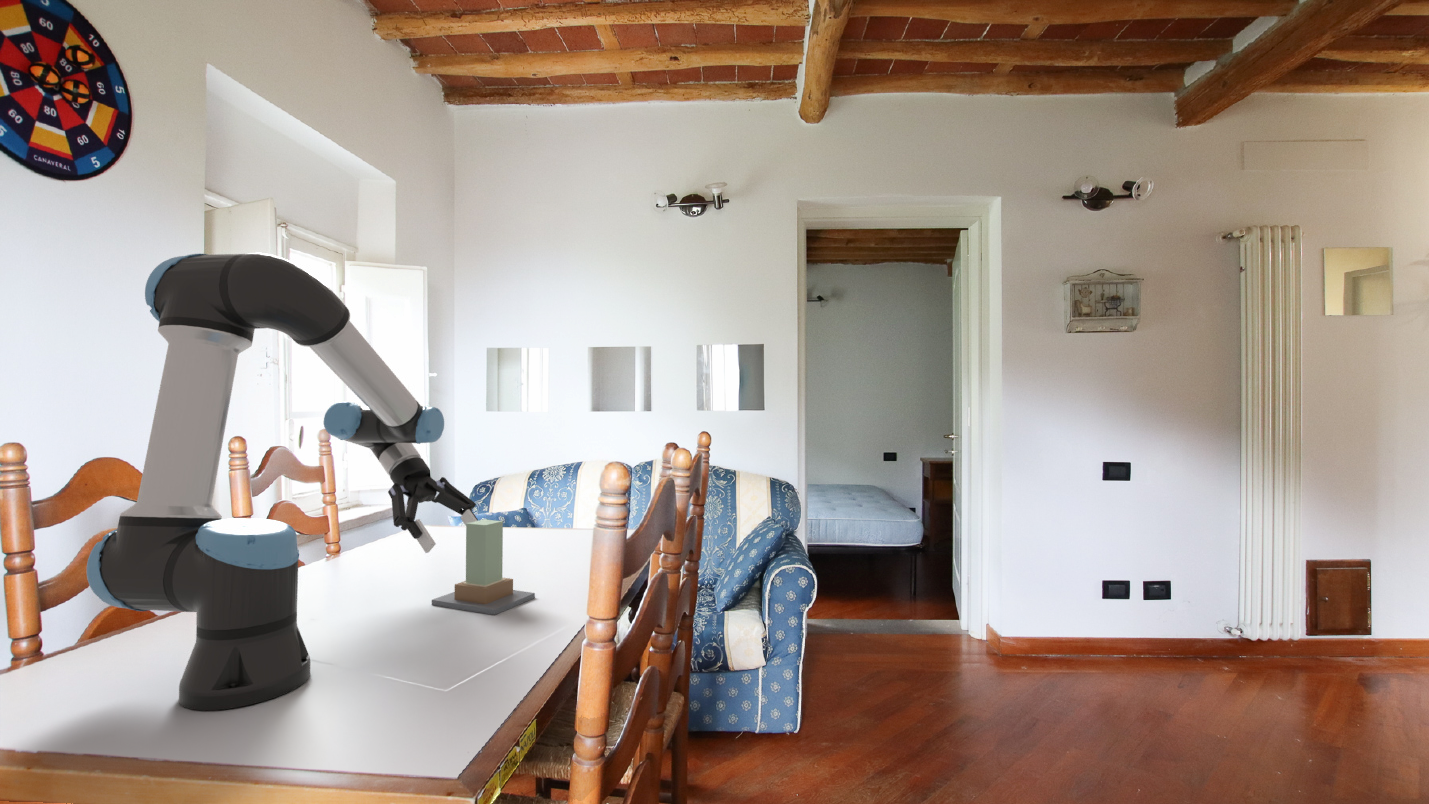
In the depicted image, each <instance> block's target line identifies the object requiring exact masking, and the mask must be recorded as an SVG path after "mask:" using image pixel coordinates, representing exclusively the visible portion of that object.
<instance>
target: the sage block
mask: <svg viewBox="0 0 1429 804" xmlns="http://www.w3.org/2000/svg"><path fill="white" fill-rule="evenodd" d="M503 523H504V521H503V520H492V519H481V520H479V519H478V521H475V522H470V523H466V525H465V533H466V534H465V538H466V539H465V581H466V583H473V584H480V585H487V584H490V583H493V582H496V581H498V580H501V579H502V578H503V559H504V558H503V556H504V555H503V553H504V552H503V550H504V548H503V543H504V542H503V539H504V537H503V536H504V534H503V533H504V531H503V530H504V524H503Z"/></svg>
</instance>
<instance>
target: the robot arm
mask: <svg viewBox="0 0 1429 804" xmlns="http://www.w3.org/2000/svg"><path fill="white" fill-rule="evenodd" d="M144 299H145V303H146V305H147V306H148V307H150V309H149V313H150V314H151V315H152V317H153V318H154V319H155V320H156V321H157V322H158V328H157V332H158V333H159V334H160V335H161V336H162V338H164V339H165V341H166V342H167V344H168V346H167V351H166V355H165V360H164V365H163V370H162V376H161V379H160V385H159V390H158V395H157V400H156V406H155V410H154V414H153V420H152V425H151V430H150V435H149V441H148V444H147V445H148V446H147V450H146V454H145V460H144V463H143V464H144V465H143V469H142V470H143V471H142V475H141V480H140V485H139V488H138V489H139V490H138V495H137V499H136V500H137V501H136V502H135V503H134V504H133V505H132V506H130V507H129V508H127V509H125V510H124V511H122V512H121V513H120V514H119V519H118V523H117V527H116V529H113V530H111V531H109V532H108V533H106V534H105V535H104V536H102V539H101V541H98V542H96V544H94V546H93V547H92V549H91V551H90V553H89V556H88V558H87V563H86V579H87V582H88V585H89V588H90V589H91V590H92V593H93V594H94V595H95V596H96V597H98V598H99V600H100V601H102V602H104V604H107V605H109V606H112V607H115V608H119V609H120V608H121V609H128V610H131V611H136V612H148V611H161V612H163V611H164V612H179V613H180V612H182V613H183V612H184V613H185V612H186V613H196V620H195V621H196V624H195V625H196V631H195V632H196V634H195V635H196V636H195V643H194V646H193V648H192V651H191V654H190V656H189V659H188V661H187V663H186V667H185V669H184V671H183V674H182V677H181V678H180V681H179V685H178V702H179V704H180V706H182V707H184V708H186V709H189V710H197V711H219V710H227V709H233V708H234V709H235V708H241V707H245V706H246V707H247V706H249V705H254V704H258V703H261V702H265V701H268V700H271V699H274V698H275V699H276V698H277V697H280V696H282V695H284V694H287V693H289V692H291V691H294V690H296V689H298V687H300V686H302V685H303V684H304V683H305V682H307V680H309V678H310V676H311V657H310V655H309V651H308V649H307V647H306V644H305V642H304V640H303V636H302V633H301V632H300V631H301V630H300V629H299V626H298V591H299V590H298V584H299V582H298V580H299V558H300V553H299V552H300V551H299V548H298V547H299V546H298V535H297V533H296V530H295V529H294V527H292V526H291V524H289V523H286V522H284V521H281V520H275V519H269V518H259V517H252V518H245V517H234V518H232V517H231V518H223V516H222V514H220V512H218V510H216V509H215V508H214V506H213V500H214V493H215V488H216V481H217V476H218V471H219V466H220V465H219V464H220V460H221V453H222V447H223V444H224V443H223V442H224V437H225V431H226V425H227V420H228V414H229V409H230V403H231V397H232V391H233V385H234V379H235V374H236V370H237V369H236V368H237V363H238V357H239V355H240V354H241V353H243V352H244V351H246V350H248V349H250V348H251V347H252V345H253V341H254V335H255V329H259V330H260V329H270V330H275V331H279V332H281V333H284V334H286V335H288V337H290V339H292V340H293V341H294V342H295V344H297V345H299V346H302V347H309V348H310V349H311V350H312V351H313V352H314V354H316V355H317V357H318V358H320V360H321V361H323V362H324V364H325V365H326V366H327V367H329V368H330V370H331V371H332V372H333V373H334V374H335V375H336V376H337V377H338V378H339V379H340V380H341V381H342V382H343V383H344V384H345V386H347V387H348V388H349V390H350V391H352V392H353V393H354V395H356V397H357V398H358V399H359V400H360V401H362V403H363V404H364V405H365V406H361V405H358V404H357V403H355V402H350V401H344V400H343V401H338V402H335V403H334V404H332V405H330V406H329V408H328V409H327V410H326V412H325V414H324V417H323V427H324V430H325V431H326V432H327V433H328V434H329V435H331V436H333V437H335V438H337V439H338V440H340V441H346V442H348V443H352V444H355V445H359V446H362V447H364V448H368V449H369V450H370V451H372V453H373V455H374V457H376V459H377V460H378V462H379V463H380V465H381V466H382V468H383V469H384V470H385V472H386V473H387V475H388V476H389V478H390V480H391V482H393V485H392V486H391V487H390V488H389V490H388V492H387V493H388V494H389V497H390V499H391V506H392V507H391V508H392V509H391V510H392V519H393V521H392V522H393V526H394V527H396V528H399V527H400V529H401V530H403V531H406V530H407V531H408V532H409V534H410V535H411V536H412V538H413V539H415V540H416V541H417V542H418V544H419V545H420V547H421V548H422V550H423V551H424V553H425V554H428V553H430V552H431V551H432V549H433V548H434V547H435V546H436V545H437V543H436V542H435V540H434V539H433V537H432V536H431V534H430V532H428V530H427V528H426V527H425V525H424V524H423V522H422V520H421V519H419V518H418V519H416V516H417V511H418V507H419V506H418V505H419V504H422V503H425V502H427V503H428V502H432V503H434V504H437V503H438V504H440V505H442V506H444V507H446V508H447V509H449V510H451V511H453V512H455V513H457V514H458V515H461V516H460V517H459V518H460V519H461V521H462V522H463V524H464V525H465V526H466V523H470V522H475V521H479V519H478V517H477V516H476V515H475V513H474V512H473V509H474V508H475V507H476V506H477V504H476V502H475V501H473V500H472V498H471V499H470V498H469V497H468V496H466V494H464V493H463V492H461V491H460V490H459V489H457V487H455V486H454V485H453V484H451V483H450V482H449V480H447V478H446V477H444V476H442V477H441V478H440V479H439V480H435V479H433V477H431V469H430V467H429V466H428V465H427V463H426V462H425V460H424V459H423V458H422V455H421V454H420V452H419V451H418V450H417V448H416V447H415V446H414V444H419V445H420V444H429V443H431V444H432V443H436V442H437V441H438V440H440V438H441V437H442V435H443V432H444V429H445V418H444V414H443V413H442V411H441V410H440V409H439V408H437V407H436V406H435V407H434V406H429V405H425V406H422V405H421V404H420V402H419V401H418V400H417V399H416V398H415V397H414V395H413V394H412V392H410V391H409V390H408V389H407V387H406V386H405V385H404V384H403V382H401V380H400V378H399V377H397V376H396V375H395V373H394V372H393V371H392V370H391V368H390V367H389V365H388V364H387V363H386V362H385V361H384V360H383V359H382V357H381V356H380V355H379V354H378V353H377V352H376V350H375V349H374V348H373V346H372V345H370V343H369V342H368V341H367V339H365V337H364V336H363V335H362V334H361V332H359V330H358V329H357V328H356V327H355V325H354V324H353V323H352V321H351V320H350V319H351V312H350V310H349V308H348V307H347V306H346V304H345V303H344V302H343V301H342V300H341V298H339V297H338V296H337V294H335V292H334V291H333V290H332V289H331V288H330V287H328V285H326V283H324V282H323V281H321V280H320V279H319V278H317V277H316V276H315V275H314V274H313V273H311V272H310V271H308V270H306V269H305V268H303V267H301V266H300V265H297V264H296V263H294V262H293V261H290V260H288V259H285V258H284V257H282V256H281V257H280V256H278V255H275V254H269V253H262V252H250V253H249V252H248V253H234V254H233V253H232V254H231V253H230V254H229V253H228V254H227V253H224V254H222V253H221V254H220V253H219V254H207V253H191V254H187V255H179V256H174V257H171V258H169V259H166V260H164V261H163V262H161V263H159V264H158V265H156V266H155V268H153V270H152V271H151V272H150V274H149V276H148V278H147V280H146V283H145V288H144ZM329 368H328V369H329ZM405 496H406V497H407V501H406V507H405Z"/></svg>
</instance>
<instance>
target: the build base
mask: <svg viewBox="0 0 1429 804" xmlns="http://www.w3.org/2000/svg"><path fill="white" fill-rule="evenodd" d="M535 598H536V593H535V592H531V591H523V590H515V589H514V578H510V577H509V578H508V577H502V579H501V580H498V581H496V582H493V583H490V584H487V585H480V584H473V583H466V580H464V581H461V582H458V583H455V584H454V591H453V592H450V593H447V594H445V595H441V596H439V597H436V598H433V599H431V605H432V606H436V607H444V608H450V609H455V610H461V611H468V612H472V613H473V612H474V613H480V614H487V615H492V616H496V615H498V614H501V613H503V612H505V611H507V610H510V609H511V608H512V609H513V608H515V607H517V606H519V605H521V604H523V603H526V602H528V601H530V600H531V601H532V600H533V599H535Z"/></svg>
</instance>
